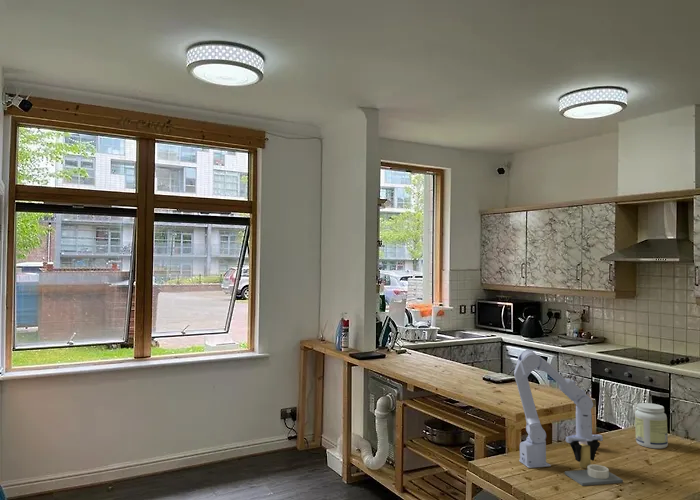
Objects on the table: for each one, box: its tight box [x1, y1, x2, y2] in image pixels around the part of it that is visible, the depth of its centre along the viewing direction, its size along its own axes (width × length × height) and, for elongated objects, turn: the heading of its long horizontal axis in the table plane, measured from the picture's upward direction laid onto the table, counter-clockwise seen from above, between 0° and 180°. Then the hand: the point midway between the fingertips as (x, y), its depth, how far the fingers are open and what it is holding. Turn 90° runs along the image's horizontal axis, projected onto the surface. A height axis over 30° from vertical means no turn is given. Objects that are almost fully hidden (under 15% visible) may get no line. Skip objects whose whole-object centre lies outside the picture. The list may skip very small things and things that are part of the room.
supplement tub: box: [634, 402, 669, 449], centre depth 227 cm, size 12×12×17 cm
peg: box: [578, 444, 592, 469], centre depth 202 cm, size 4×4×8 cm
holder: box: [564, 464, 624, 487], centre depth 190 cm, size 16×11×4 cm
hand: (584, 460), depth 202 cm, fingers open, 5 cm apart
